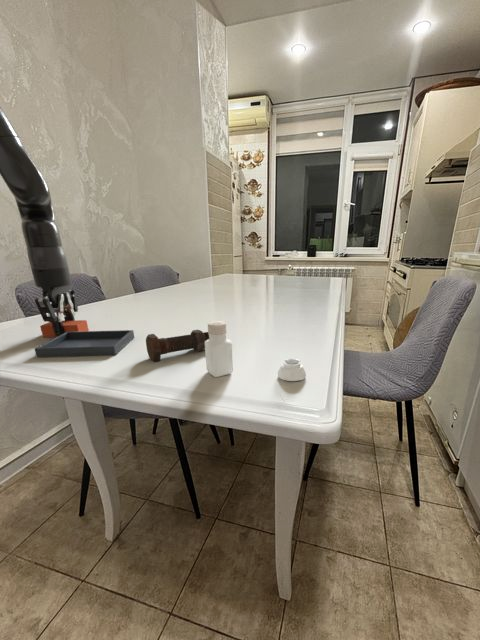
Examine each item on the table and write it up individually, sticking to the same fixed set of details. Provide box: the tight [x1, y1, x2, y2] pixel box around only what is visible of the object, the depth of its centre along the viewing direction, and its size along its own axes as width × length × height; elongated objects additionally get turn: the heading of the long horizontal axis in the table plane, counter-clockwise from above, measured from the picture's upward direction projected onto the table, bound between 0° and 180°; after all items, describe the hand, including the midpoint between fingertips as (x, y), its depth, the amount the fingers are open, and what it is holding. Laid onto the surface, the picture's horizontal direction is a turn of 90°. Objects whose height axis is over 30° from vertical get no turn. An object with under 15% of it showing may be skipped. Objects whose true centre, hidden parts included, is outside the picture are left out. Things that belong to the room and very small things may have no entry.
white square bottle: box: [204, 320, 234, 378], centre depth 52 cm, size 4×4×10 cm
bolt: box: [145, 329, 209, 363], centre depth 63 cm, size 6×5×15 cm
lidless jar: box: [277, 358, 307, 382], centre depth 52 cm, size 5×3×5 cm
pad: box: [39, 319, 90, 338], centre depth 77 cm, size 9×5×3 cm, turn 95°
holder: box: [33, 329, 135, 358], centre depth 67 cm, size 16×12×2 cm
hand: (66, 332), depth 77 cm, fingers closed on pad, 5 cm apart
